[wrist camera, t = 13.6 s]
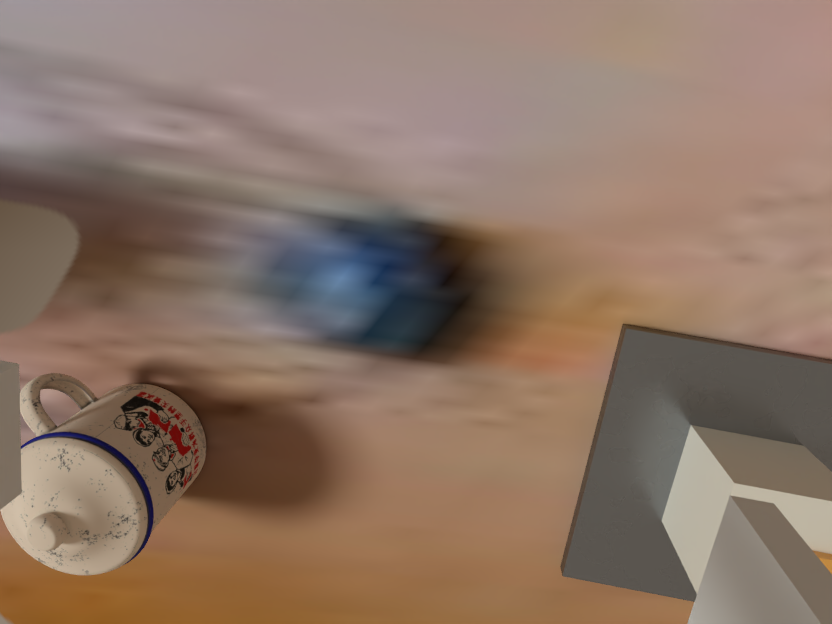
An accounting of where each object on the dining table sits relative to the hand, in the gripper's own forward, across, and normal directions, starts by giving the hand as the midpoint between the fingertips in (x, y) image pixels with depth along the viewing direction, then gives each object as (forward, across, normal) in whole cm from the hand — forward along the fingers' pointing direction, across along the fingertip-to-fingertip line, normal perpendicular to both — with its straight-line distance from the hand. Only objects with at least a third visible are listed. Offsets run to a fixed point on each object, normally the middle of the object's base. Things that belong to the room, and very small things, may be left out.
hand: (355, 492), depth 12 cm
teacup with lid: (+29, -19, -16) cm, 38 cm away
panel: (+29, +21, -12) cm, 38 cm away
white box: (+28, +21, -12) cm, 37 cm away
